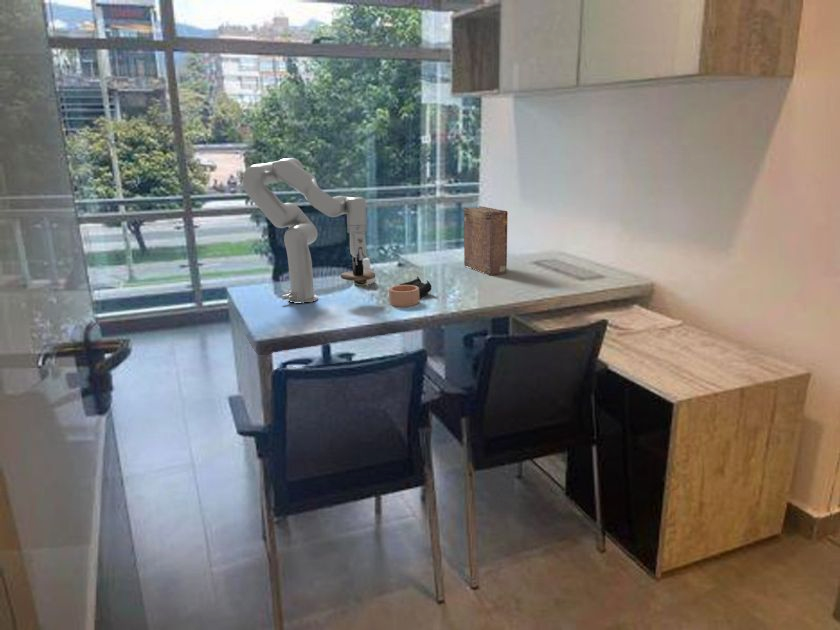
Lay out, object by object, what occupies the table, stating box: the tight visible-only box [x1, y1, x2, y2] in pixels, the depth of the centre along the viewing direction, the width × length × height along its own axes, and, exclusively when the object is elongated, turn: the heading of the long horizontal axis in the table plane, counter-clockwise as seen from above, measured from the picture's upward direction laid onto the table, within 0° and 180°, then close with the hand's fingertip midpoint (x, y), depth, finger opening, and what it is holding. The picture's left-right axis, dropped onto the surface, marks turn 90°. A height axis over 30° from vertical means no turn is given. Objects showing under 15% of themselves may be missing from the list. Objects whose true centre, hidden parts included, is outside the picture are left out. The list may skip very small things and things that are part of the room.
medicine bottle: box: [353, 257, 376, 286], centre depth 289 cm, size 7×7×12 cm
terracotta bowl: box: [388, 284, 420, 308], centre depth 255 cm, size 12×12×6 cm
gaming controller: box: [399, 276, 432, 299], centre depth 269 cm, size 17×6×10 cm
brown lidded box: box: [463, 205, 509, 276], centre depth 307 cm, size 25×9×30 cm, turn 26°
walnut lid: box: [340, 261, 376, 282], centre depth 255 cm, size 14×14×6 cm
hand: (358, 272), depth 255 cm, fingers closed on walnut lid, 4 cm apart
